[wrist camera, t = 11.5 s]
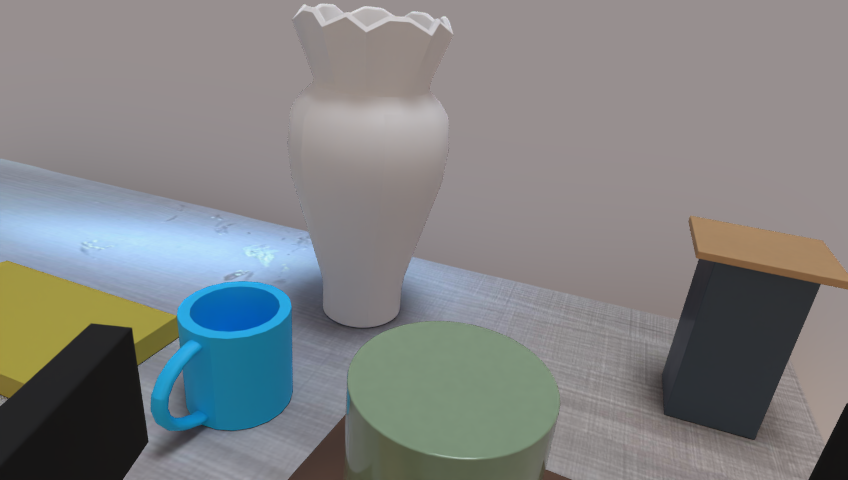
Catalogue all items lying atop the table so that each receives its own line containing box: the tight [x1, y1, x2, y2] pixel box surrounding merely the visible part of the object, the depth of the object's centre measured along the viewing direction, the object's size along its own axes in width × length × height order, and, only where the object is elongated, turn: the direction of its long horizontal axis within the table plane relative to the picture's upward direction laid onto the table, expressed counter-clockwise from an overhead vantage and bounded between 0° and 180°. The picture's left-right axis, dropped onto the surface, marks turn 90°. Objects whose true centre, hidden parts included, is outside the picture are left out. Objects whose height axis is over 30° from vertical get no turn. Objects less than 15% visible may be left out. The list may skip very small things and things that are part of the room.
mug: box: [151, 281, 293, 431], centre depth 43 cm, size 12×8×8 cm
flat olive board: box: [0, 261, 179, 398], centre depth 50 cm, size 12×2×24 cm
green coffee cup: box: [343, 321, 560, 480], centre depth 24 cm, size 10×8×8 cm
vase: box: [288, 4, 453, 328], centre depth 54 cm, size 15×15×29 cm
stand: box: [662, 216, 848, 440], centre depth 47 cm, size 10×8×16 cm
